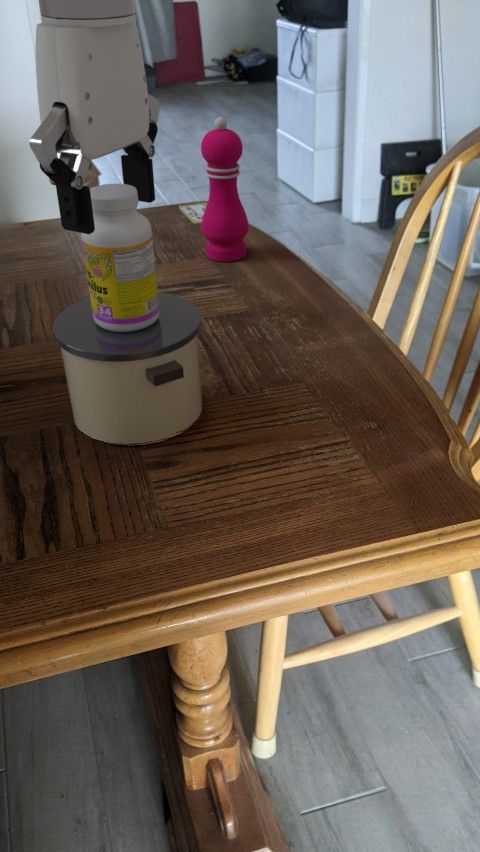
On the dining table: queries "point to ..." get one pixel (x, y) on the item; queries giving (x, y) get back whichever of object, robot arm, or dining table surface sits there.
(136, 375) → the pot
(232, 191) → the pepper mill
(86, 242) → the supplement bottle
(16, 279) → the dining table surface
